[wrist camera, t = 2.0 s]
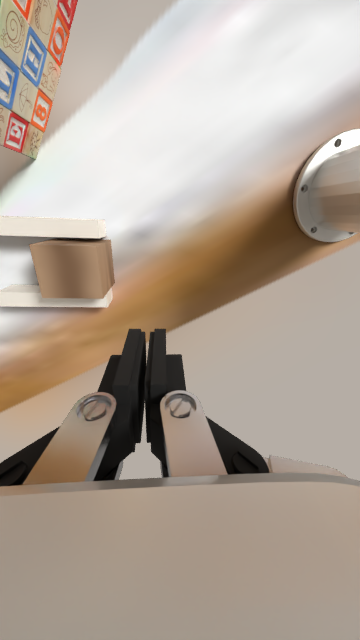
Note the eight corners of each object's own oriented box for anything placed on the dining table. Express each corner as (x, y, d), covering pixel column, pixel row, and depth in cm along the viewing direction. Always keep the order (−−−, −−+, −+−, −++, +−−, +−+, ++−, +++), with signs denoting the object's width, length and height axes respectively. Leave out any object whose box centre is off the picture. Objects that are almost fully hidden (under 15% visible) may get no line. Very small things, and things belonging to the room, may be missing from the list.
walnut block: (110, 239, 30) (96, 246, 24) (114, 282, 33) (103, 298, 26) (57, 238, 30) (29, 244, 23) (66, 281, 32) (42, 298, 26)
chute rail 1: (104, 219, 29) (97, 220, 26) (106, 235, 30) (99, 238, 27) (-9, 215, 28) (-31, 215, 25) (-4, 232, 29) (-24, 234, 26)
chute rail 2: (111, 285, 33) (105, 293, 30) (112, 298, 34) (107, 307, 30) (12, 284, 32) (-5, 292, 29) (16, 297, 33) (0, 306, 29)
